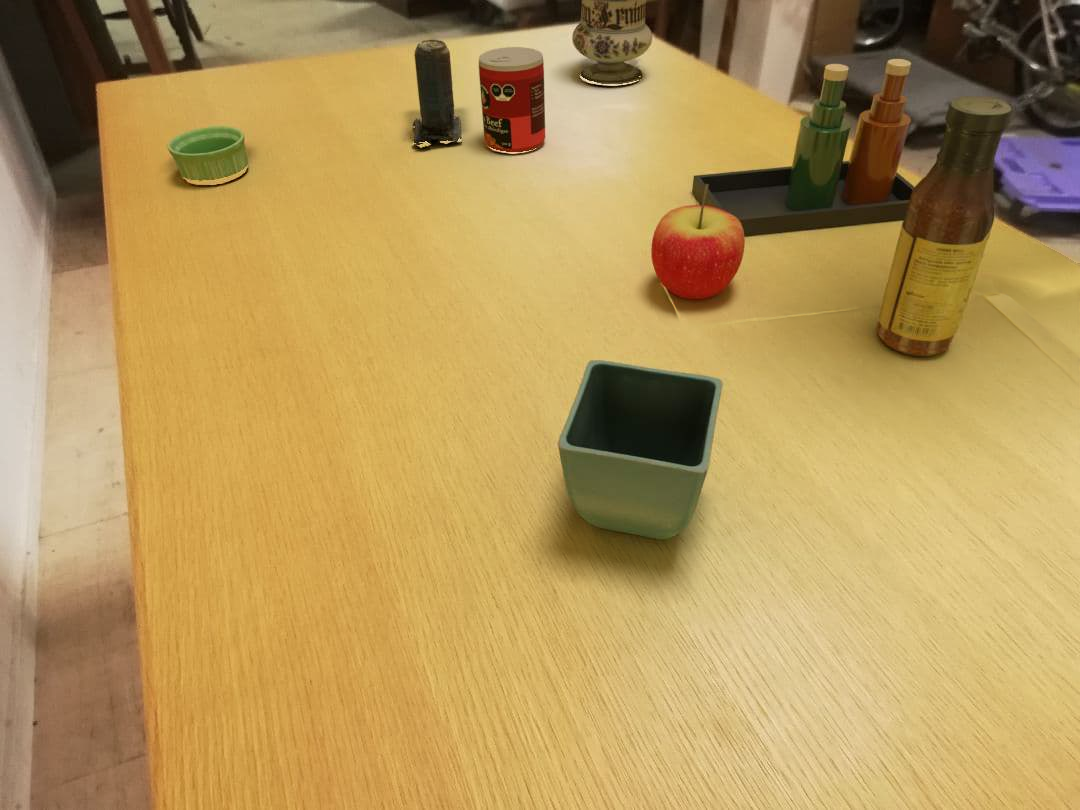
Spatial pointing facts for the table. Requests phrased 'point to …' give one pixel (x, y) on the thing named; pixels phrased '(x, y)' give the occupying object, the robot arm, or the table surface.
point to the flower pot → (639, 447)
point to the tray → (766, 212)
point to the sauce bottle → (944, 232)
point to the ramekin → (209, 152)
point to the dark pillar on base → (435, 94)
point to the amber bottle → (879, 141)
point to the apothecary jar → (612, 39)
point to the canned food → (512, 98)
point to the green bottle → (820, 146)
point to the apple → (697, 250)
